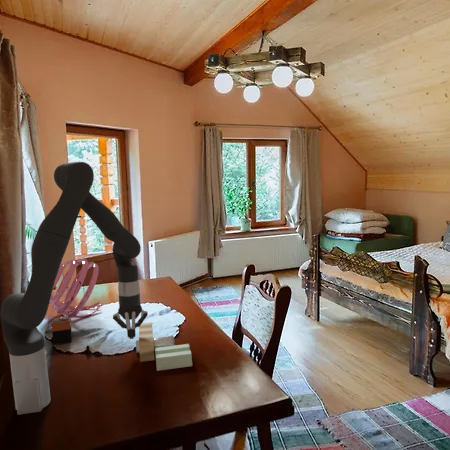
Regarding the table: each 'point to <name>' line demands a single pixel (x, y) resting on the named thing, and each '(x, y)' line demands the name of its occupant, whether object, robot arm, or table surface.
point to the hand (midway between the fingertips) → (131, 338)
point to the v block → (173, 357)
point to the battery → (61, 330)
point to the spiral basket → (74, 289)
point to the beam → (146, 342)
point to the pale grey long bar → (159, 342)
